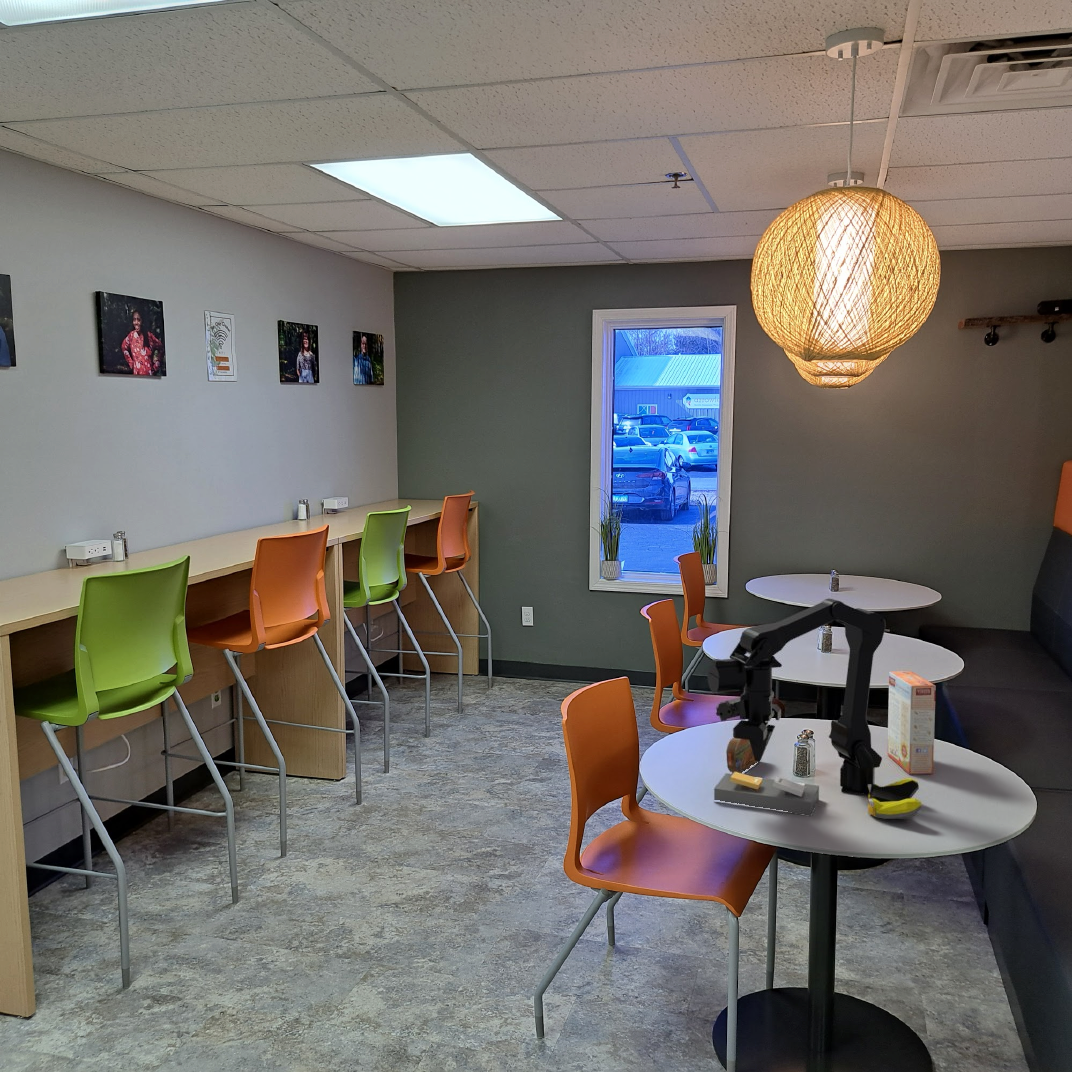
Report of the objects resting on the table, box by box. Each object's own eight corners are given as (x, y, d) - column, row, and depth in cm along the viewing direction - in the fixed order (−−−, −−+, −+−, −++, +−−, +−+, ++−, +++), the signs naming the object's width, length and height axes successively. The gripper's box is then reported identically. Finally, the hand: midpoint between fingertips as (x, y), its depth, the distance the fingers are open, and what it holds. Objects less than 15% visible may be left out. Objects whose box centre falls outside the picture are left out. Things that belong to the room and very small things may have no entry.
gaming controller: (917, 801, 197) (867, 797, 200) (918, 776, 196) (867, 772, 200) (922, 829, 183) (867, 824, 186) (922, 802, 182) (868, 797, 186)
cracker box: (935, 775, 212) (937, 684, 210) (908, 775, 212) (909, 685, 210) (911, 754, 226) (913, 670, 224) (886, 755, 226) (887, 670, 224)
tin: (736, 779, 212) (736, 743, 211) (723, 776, 214) (723, 740, 213) (763, 760, 224) (763, 726, 223) (751, 758, 226) (751, 724, 225)
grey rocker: (804, 790, 195) (805, 786, 195) (801, 796, 192) (802, 792, 192) (776, 780, 198) (777, 775, 198) (772, 786, 195) (774, 781, 194)
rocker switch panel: (818, 799, 199) (818, 783, 199) (810, 816, 190) (810, 799, 190) (726, 786, 208) (726, 771, 207) (714, 802, 199) (714, 786, 198)
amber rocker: (761, 783, 199) (762, 779, 199) (757, 789, 196) (758, 784, 196) (734, 775, 202) (734, 771, 202) (730, 781, 199) (730, 776, 198)
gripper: (730, 675, 208) (730, 743, 209) (708, 695, 191) (708, 769, 193) (781, 679, 203) (781, 749, 205) (763, 701, 186) (762, 777, 188)
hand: (757, 760), depth 198 cm, fingers closed
